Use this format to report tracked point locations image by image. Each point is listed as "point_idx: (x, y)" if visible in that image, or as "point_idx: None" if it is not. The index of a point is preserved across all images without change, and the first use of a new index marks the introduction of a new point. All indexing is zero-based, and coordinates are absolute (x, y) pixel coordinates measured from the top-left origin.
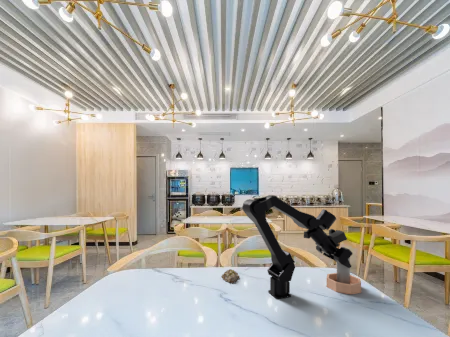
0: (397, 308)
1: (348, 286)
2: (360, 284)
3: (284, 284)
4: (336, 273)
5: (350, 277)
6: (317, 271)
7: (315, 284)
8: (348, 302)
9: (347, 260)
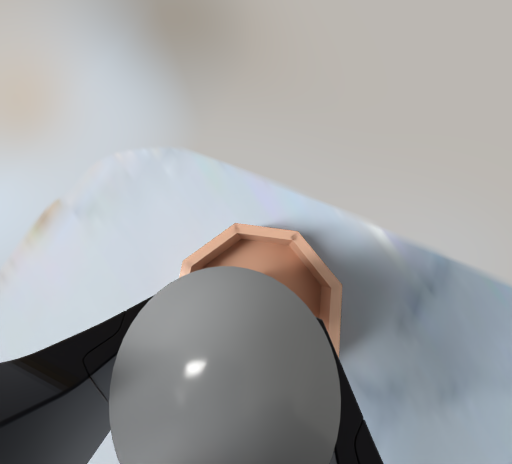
0: (482, 289)
1: None
2: (340, 288)
3: None
4: (188, 273)
5: (244, 235)
6: (84, 247)
7: None
8: (380, 439)
9: (363, 441)
